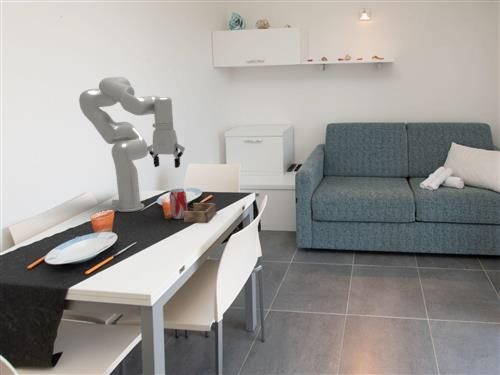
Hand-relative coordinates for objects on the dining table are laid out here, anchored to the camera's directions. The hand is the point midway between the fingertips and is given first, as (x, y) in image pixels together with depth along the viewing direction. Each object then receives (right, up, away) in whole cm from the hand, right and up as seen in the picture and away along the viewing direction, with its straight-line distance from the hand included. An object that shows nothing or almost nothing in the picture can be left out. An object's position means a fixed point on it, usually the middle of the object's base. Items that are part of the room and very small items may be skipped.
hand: (167, 166), depth 216 cm
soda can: (+5, -22, +2) cm, 23 cm away
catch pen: (+14, -22, 0) cm, 26 cm away
